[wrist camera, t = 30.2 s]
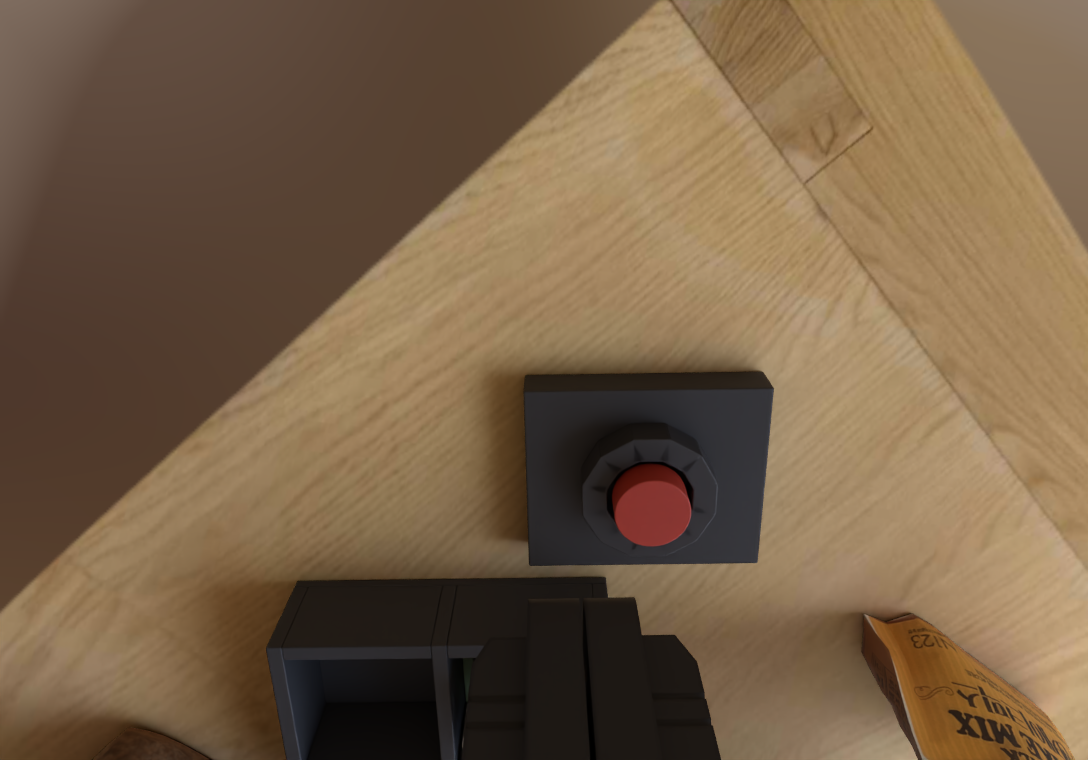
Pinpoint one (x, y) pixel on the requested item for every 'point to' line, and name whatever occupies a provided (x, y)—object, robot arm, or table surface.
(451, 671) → the black divided tray
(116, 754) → the bread
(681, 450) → the block
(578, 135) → the table surface
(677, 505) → the button
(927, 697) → the pancake mix bag
